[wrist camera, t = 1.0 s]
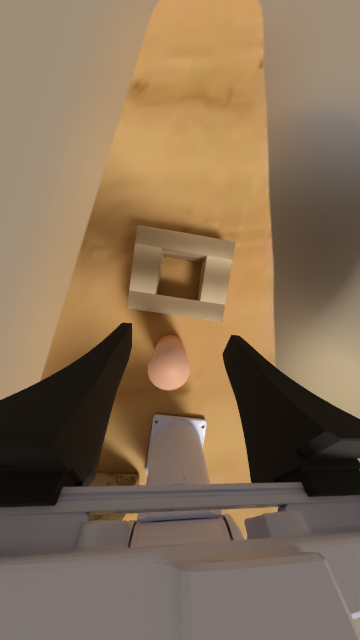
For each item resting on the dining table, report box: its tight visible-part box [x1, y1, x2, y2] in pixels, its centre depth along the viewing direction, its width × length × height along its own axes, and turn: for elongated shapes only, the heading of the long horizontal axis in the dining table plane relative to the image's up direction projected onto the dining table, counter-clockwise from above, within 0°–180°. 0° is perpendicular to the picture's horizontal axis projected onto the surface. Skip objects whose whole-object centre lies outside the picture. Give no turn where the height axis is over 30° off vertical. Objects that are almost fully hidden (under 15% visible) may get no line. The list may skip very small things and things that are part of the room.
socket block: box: [127, 224, 235, 322], centre depth 20 cm, size 10×12×3 cm
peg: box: [148, 335, 190, 390], centre depth 18 cm, size 4×4×8 cm
